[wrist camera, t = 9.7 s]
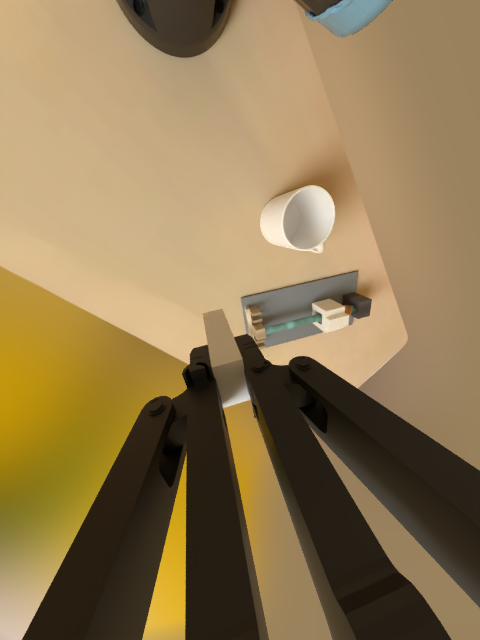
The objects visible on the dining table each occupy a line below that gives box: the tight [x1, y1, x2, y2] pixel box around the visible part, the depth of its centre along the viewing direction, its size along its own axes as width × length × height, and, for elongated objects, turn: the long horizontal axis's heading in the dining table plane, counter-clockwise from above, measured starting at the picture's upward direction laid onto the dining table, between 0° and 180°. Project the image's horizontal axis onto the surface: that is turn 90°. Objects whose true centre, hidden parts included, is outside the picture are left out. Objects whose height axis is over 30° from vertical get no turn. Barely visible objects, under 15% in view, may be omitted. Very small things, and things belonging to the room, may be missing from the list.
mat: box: [241, 271, 358, 348], centre depth 48 cm, size 14×28×1 cm, turn 100°
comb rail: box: [245, 292, 372, 349], centre depth 46 cm, size 10×27×6 cm, turn 100°
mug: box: [260, 185, 335, 253], centre depth 35 cm, size 9×12×11 cm
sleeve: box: [312, 299, 349, 333], centre depth 44 cm, size 5×4×7 cm
